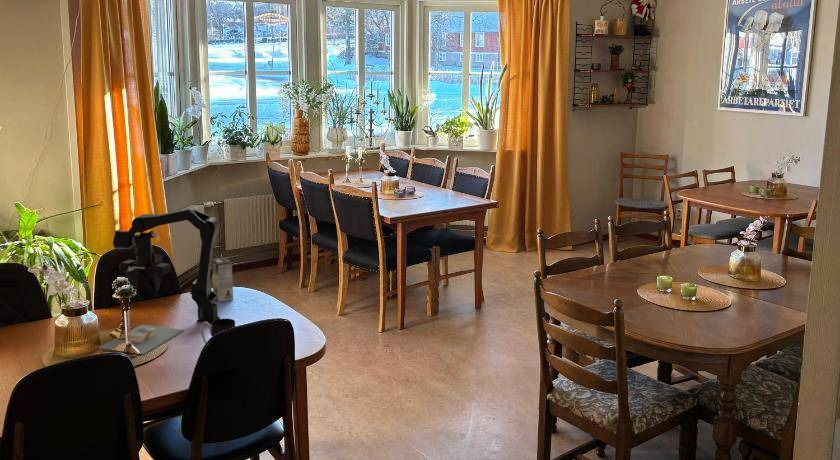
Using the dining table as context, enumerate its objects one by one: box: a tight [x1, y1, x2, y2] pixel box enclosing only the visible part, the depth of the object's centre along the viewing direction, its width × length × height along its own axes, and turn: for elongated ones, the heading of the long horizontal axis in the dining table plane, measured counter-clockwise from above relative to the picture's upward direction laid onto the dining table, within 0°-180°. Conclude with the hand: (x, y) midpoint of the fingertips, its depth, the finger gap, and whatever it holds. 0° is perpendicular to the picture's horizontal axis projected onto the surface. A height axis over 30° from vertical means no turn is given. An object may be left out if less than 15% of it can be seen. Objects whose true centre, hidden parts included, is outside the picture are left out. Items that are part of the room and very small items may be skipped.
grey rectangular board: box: [98, 324, 185, 356], centre depth 274 cm, size 18×24×1 cm
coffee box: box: [211, 256, 234, 302], centre depth 319 cm, size 9×6×16 cm
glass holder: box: [199, 318, 236, 345], centre depth 252 cm, size 9×14×15 cm, turn 61°
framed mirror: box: [129, 327, 156, 343], centre depth 274 cm, size 8×5×3 cm, turn 165°
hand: (146, 289), depth 292 cm, fingers open, 9 cm apart
